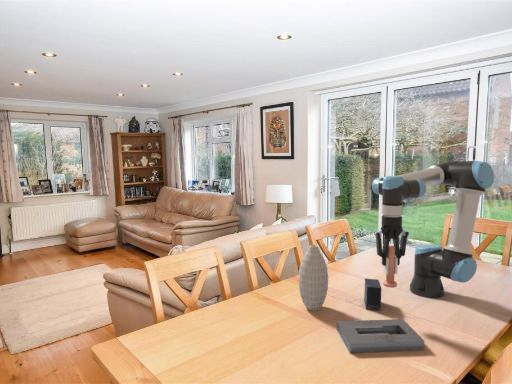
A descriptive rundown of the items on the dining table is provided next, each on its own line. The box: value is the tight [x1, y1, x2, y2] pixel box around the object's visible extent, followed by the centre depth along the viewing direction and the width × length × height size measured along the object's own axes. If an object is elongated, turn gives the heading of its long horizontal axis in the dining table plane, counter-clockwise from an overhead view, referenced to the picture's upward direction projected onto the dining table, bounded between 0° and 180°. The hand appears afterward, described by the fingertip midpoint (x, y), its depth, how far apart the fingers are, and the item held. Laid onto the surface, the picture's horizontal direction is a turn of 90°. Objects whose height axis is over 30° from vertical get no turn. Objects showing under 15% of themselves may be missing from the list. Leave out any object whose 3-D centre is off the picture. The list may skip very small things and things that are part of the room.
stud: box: [383, 244, 398, 289], centre depth 141 cm, size 5×5×16 cm
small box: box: [363, 278, 382, 311], centre depth 158 cm, size 11×6×10 cm, turn 168°
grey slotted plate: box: [336, 318, 425, 354], centre depth 129 cm, size 26×16×4 cm, turn 93°
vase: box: [298, 244, 329, 312], centre depth 155 cm, size 13×13×28 cm
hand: (390, 273), depth 142 cm, fingers closed on stud, 3 cm apart
